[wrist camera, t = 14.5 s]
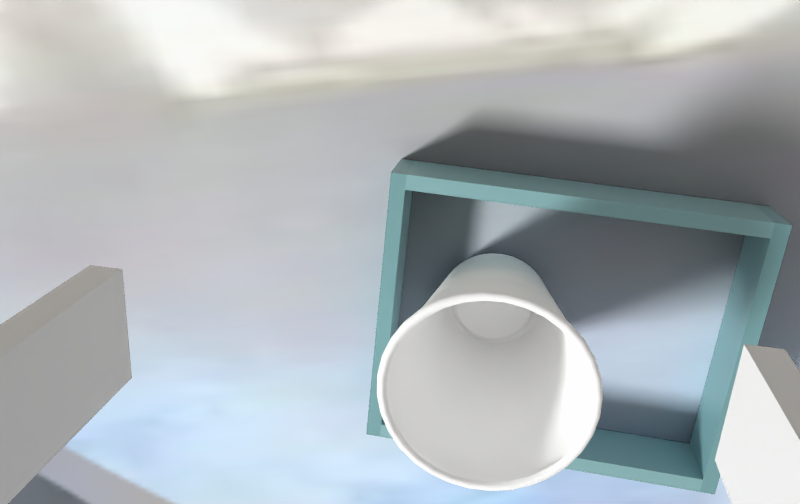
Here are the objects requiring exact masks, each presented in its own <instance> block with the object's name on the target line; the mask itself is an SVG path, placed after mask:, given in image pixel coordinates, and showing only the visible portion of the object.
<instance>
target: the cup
mask: <svg viewBox="0 0 800 504" xmlns="http://www.w3.org/2000/svg"><path fill="white" fill-rule="evenodd" d="M377 397H378V402H379V408H380V413H381V415H382V417H383V420H384V422H385V425H386V427H387V429H388V431H389V433H390V434H391V436H392V437H393V439H394V440H395V442H396V443H397V445H398V446H399V448H400V449H401V450H402V451H403V452H404V453H405V454H406V455H407V456H408V457H409V458H410V459H411V460H412V461H413V462H415V463H416V464H417V465H419V466H420V467H422V468H423V469H425V470H426V471H427V472H429V473H430V474H432V475H434V476H436V477H439V478H441V479H443V480H445V481H447V482H449V483H453V484H456V485H460V486H463V487H466V488H471V489H480V490H488V491H495V490H512V489H517V488H521V487H526V486H531V485H533V484H536V483H538V482H541V481H543V480H545V479H548V478H550V477H552V476H553V475H555V474H557V473H558V472H560V471H561V470H563V469H564V468H566V467H567V466H568V465H569V464H570V463H571V462H572V461H573V460H574V459H576V458H577V457H578V456H579V455H580V454H581V453H582V451H583V450H584V448H585V447H586V445H587V444H588V442H589V441H590V439H591V438H592V436H593V434H594V432H595V429H596V426H597V424H598V421H599V419H600V414H601V407H602V400H603V393H602V382H601V375H600V372H599V369H598V366H597V363H596V360H595V357H594V355H593V353H592V352H591V350H590V348H589V346H588V345H587V343H586V341H585V340H584V338H583V337H582V336H581V335H580V334H579V333H578V331H577V330H576V329H575V328H574V327H573V326H572V325H571V324H570V323H569V322H568V321H567V320H566V319H565V317H564V315H563V314H562V312H561V311H560V309H559V308H558V306H557V304H556V303H555V301H554V300H553V298H552V296H551V295H550V293H549V292H548V290H547V288H546V287H545V285H544V283H543V282H542V280H541V278H540V277H539V275H538V274H537V273H536V272H535V271H534V270H533V269H532V268H531V267H530V266H529V265H527V264H526V263H525V262H523V261H521V260H519V259H517V258H515V257H512V256H509V255H505V254H497V253H489V254H481V255H477V256H474V257H471V258H469V259H467V260H465V261H463V262H461V263H460V264H459V265H458V266H457V267H455V268H454V269H453V270H452V271H451V273H450V274H449V275H448V276H447V278H446V279H445V280H444V281H443V282H442V284H441V285H440V286H439V287H438V289H437V290H436V291H435V292H434V294H433V295H432V296H431V297H430V298H429V300H428V301H427V302H426V303H425V304H424V306H423V307H422V308H421V309H419V310H418V311H417V312H416V313H414V314H413V315H412V316H411V317H409V318H408V319H407V320H406V321H404V322H403V324H402V325H401V326H400V327H399V329H398V330H397V331H396V332H395V333H394V335H393V336H392V337H391V339H390V341H389V343H388V345H387V347H386V349H385V351H384V353H383V355H382V358H381V362H380V366H379V370H378V374H377Z"/></svg>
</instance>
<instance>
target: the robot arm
mask: <svg viewBox="0 0 800 504" xmlns="http://www.w3.org/2000/svg"><path fill="white" fill-rule="evenodd" d="M131 378H132V373H131V362H130V351H129V339H128V328H127V317H126V305H125V294H124V282H123V271H122V269H116V268H108V267H100V266H91V265H90V266H88V267H87V268H85V269H84V270H82V271H81V272H79V273H78V274H76V275H75V276H73V277H72V278H70V279H69V280H67V281H66V282H64V283H63V284H61V285H60V286H58V287H57V288H55V289H54V290H52V291H51V292H49V293H48V294H46V295H45V296H43V297H42V298H40V299H39V300H37V301H36V302H34V303H33V304H31V305H29V306H28V307H26V308H25V309H23V310H22V311H20V312H19V313H17V314H16V315H14V316H13V317H11V318H10V319H8V320H7V321H5V322H4V323H2V324H1V325H0V504H8V503H9V502H10V501H11V500H12V499H13V498H14V497H15V496H16V495H17V494H18V493H19V492H20V491H21V490H22V489H23V488H24V487H25V486H26V484H27V483H28V482H29V481H30V480H31V479H32V478H33V477H34V476H35V475H36V474H37V473H38V472H39V471H40V470H41V469H42V468H43V467H44V466H45V465H46V464H47V463H48V462H49V461H50V460H51V459H52V458H53V457H54V456H55V455H56V454H57V453H58V452H59V451H60V450H61V449H62V448H63V447H64V446H65V445H66V444H67V443H68V442H69V441H70V440H71V439H72V438H73V437H74V436H75V435H76V434H77V433H78V432H79V431H80V430H81V429H82V428H83V427H84V426H85V425H86V424H87V423H88V422H89V421H90V420H91V419H92V418H93V417H94V416H95V415H96V414H97V413H98V411H99V410H100V409H101V408H102V407H103V406H104V405H105V404H106V403H107V402H108V401H109V400H110V399H111V398H112V397H113V396H114V395H115V394H116V393H117V392H118V391H119V390H120V389H121V388H122V387H123V386H124V385H125V384H126V383H127V382H128V381H129V380H130V379H131ZM715 462H716V464H717V467H718V470H719V472H720V475H721V478H722V480H723V483H724V485H725V488H726V491H727V493H728V496H729V499H730V501H731V504H800V370H799V369H798V368H797V366H796V365H795V363H794V362H793V360H792V359H791V357H790V356H789V354H788V353H787V351H786V350H785V349H780V348H772V347H763V346H755V345H747V344H744V346H743V350H742V354H741V358H740V362H739V366H738V370H737V374H736V378H735V382H734V386H733V390H732V394H731V398H730V402H729V406H728V410H727V414H726V418H725V422H724V425H723V429H722V433H721V437H720V441H719V445H718V449H717V453H716V457H715Z"/></svg>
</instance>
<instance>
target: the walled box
mask: <svg viewBox="0 0 800 504" xmlns="http://www.w3.org/2000/svg"><path fill="white" fill-rule="evenodd" d="M412 191H418V192H425V193H432V194H440V195H447V196H455V197H462V198H470V199H477V200H485V201H492V202H500V203H507V204H515V205H522V206H530V207H537V208H545V209H552V210H560V211H567V212H575V213H582V214H590V215H597V216H605V217H612V218H620V219H627V220H635V221H642V222H649V223H657V224H664V225H672V226H679V227H687V228H694V229H702V230H709V231H717V232H724V233H732V234H739V235H745V238H744V242H743V245H742V249H741V253H740V257H739V260H738V264H737V268H736V272H735V275H734V279H733V283H732V287H731V290H730V294H729V298H728V301H727V305H726V309H725V313H724V316H723V320H722V324H721V328H720V331H719V335H718V339H717V343H716V346H715V350H714V354H713V357H712V361H711V365H710V369H709V372H708V376H707V380H706V384H705V387H704V391H703V395H702V399H701V402H700V406H699V410H698V413H697V417H696V421H695V425H694V428H693V432H692V436H691V440H690V443H689V444H688V443H682V442H676V441H670V440H664V439H658V438H652V437H646V436H640V435H634V434H628V433H622V432H616V431H610V430H604V429H598V428H596V429H595V432H594V434H593V436H592V438H591V439H590V441H589V442H588V444H587V445H586V447H585V448H584V450H583V451H582V453H581V454H580V455H579V456H578V457H577V458H576V459H574V460H573V461H572V462H571V463H570V464H569V465H568V466H567V467H566V468H565V469H571V470H577V471H583V472H589V473H594V474H600V475H606V476H612V477H617V478H623V479H629V480H635V481H641V482H646V483H652V484H658V485H664V486H669V487H675V488H681V489H687V490H693V491H698V492H704V493H710V494H715V491H716V488H717V484H718V481H719V478H720V472H719V470H718V467H717V464H716V462H715V457H716V453H717V449H718V445H719V441H720V437H721V433H722V429H723V425H724V422H725V418H726V414H727V410H728V406H729V402H730V398H731V394H732V390H733V386H734V382H735V378H736V374H737V370H738V366H739V362H740V358H741V354H742V350H743V346H744V344H747V345H755V346H758V343H759V339H760V336H761V332H762V329H763V325H764V322H765V318H766V315H767V312H768V308H769V305H770V301H771V298H772V294H773V291H774V287H775V284H776V280H777V277H778V274H779V270H780V267H781V263H782V260H783V256H784V253H785V249H786V246H787V242H788V239H789V235H790V232H791V229H792V224H790V223H789V222H788V221H787V220H785V219H784V218H783V217H782V216H781V215H779V214H778V213H777V212H776V211H775V210H773V209H772V208H771V207H770V206H763V205H756V204H748V203H740V202H732V201H725V200H717V199H709V198H701V197H694V196H686V195H678V194H670V193H663V192H655V191H647V190H639V189H631V188H624V187H616V186H608V185H600V184H593V183H585V182H577V181H569V180H562V179H554V178H546V177H538V176H531V175H523V174H515V173H507V172H500V171H492V170H484V169H476V168H469V167H461V166H453V165H445V164H437V163H430V162H422V161H414V160H406V159H401V160H400V161H399V163H398V164H397V165H396V167H395V168H394V169H393V171H392V172H391V179H390V189H389V200H388V210H387V221H386V232H385V242H384V253H383V263H382V274H381V285H380V295H379V306H378V316H377V327H376V338H375V348H374V359H373V369H372V380H371V391H370V401H369V412H368V422H367V433H366V434H369V435H374V436H380V437H386V438H392V439H393V437H392V436H391V434H390V433H389V431H388V429H387V427H386V425H385V422H384V420H383V417H382V415H381V413H380V408H379V402H378V397H377V374H378V370H379V366H380V362H381V358H382V355H383V353H384V351H385V349H386V347H387V345H388V343H389V341H390V339H391V337H392V336H393V335H394V333H395V332H396V331H397V330H398V324H399V315H400V305H401V296H402V286H403V277H404V267H405V258H406V248H407V239H408V229H409V220H410V210H411V201H412Z"/></svg>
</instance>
